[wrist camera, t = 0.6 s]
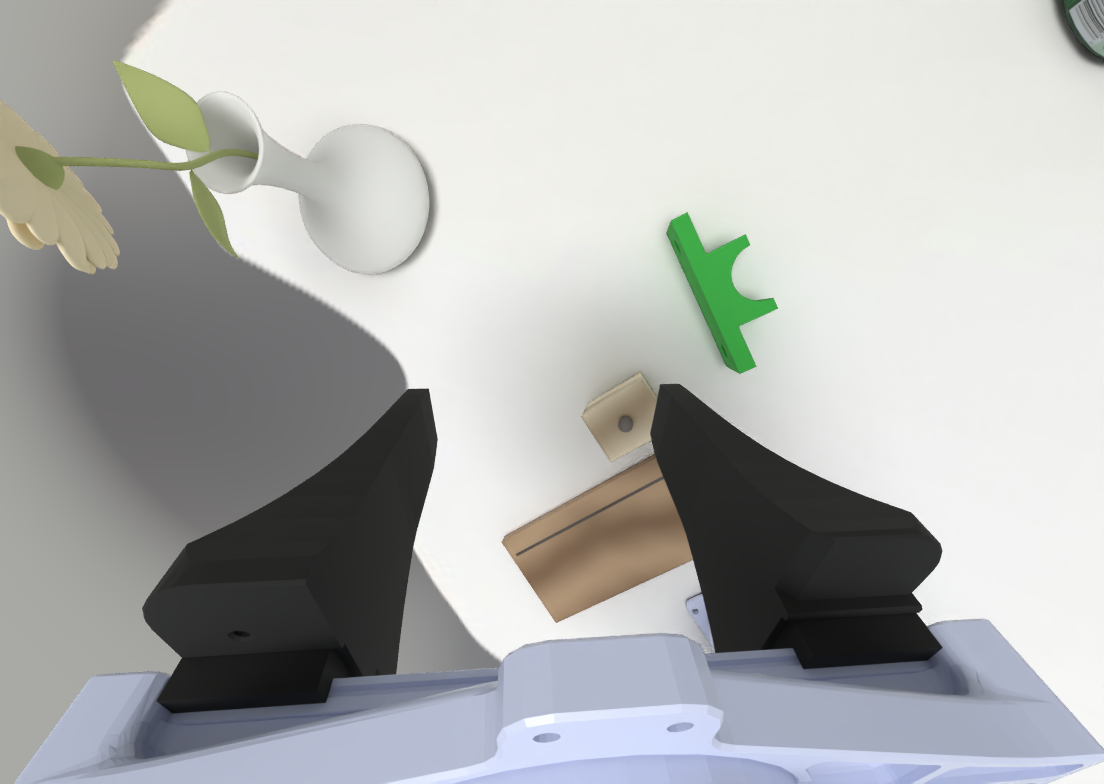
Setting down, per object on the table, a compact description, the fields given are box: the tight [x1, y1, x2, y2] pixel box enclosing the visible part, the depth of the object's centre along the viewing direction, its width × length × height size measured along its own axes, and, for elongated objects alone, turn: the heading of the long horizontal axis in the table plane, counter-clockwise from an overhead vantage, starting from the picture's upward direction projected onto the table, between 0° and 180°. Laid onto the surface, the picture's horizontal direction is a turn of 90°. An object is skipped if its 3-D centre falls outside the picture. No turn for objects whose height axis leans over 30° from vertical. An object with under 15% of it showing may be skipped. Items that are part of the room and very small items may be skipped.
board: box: [502, 454, 693, 623], centre depth 36 cm, size 9×20×1 cm, turn 124°
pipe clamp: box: [667, 213, 778, 373], centre depth 30 cm, size 11×4×5 cm, turn 27°
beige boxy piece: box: [581, 371, 657, 462], centre depth 32 cm, size 4×5×6 cm
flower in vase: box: [0, 61, 429, 275], centre depth 24 cm, size 13×11×25 cm
